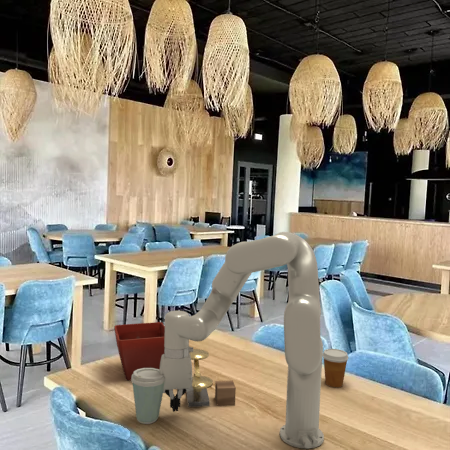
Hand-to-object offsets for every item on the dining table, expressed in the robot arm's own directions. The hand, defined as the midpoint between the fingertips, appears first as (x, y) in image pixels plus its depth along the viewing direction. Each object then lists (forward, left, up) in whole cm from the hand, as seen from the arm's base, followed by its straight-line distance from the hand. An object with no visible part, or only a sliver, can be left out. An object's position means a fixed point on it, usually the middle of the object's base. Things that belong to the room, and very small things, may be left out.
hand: (175, 409), depth 138 cm
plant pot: (+35, +12, -3) cm, 37 cm away
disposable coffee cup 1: (-1, +8, -2) cm, 9 cm away
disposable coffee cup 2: (+20, -60, -3) cm, 63 cm away
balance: (+15, -8, -2) cm, 17 cm away
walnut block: (+9, -17, -2) cm, 19 cm away
